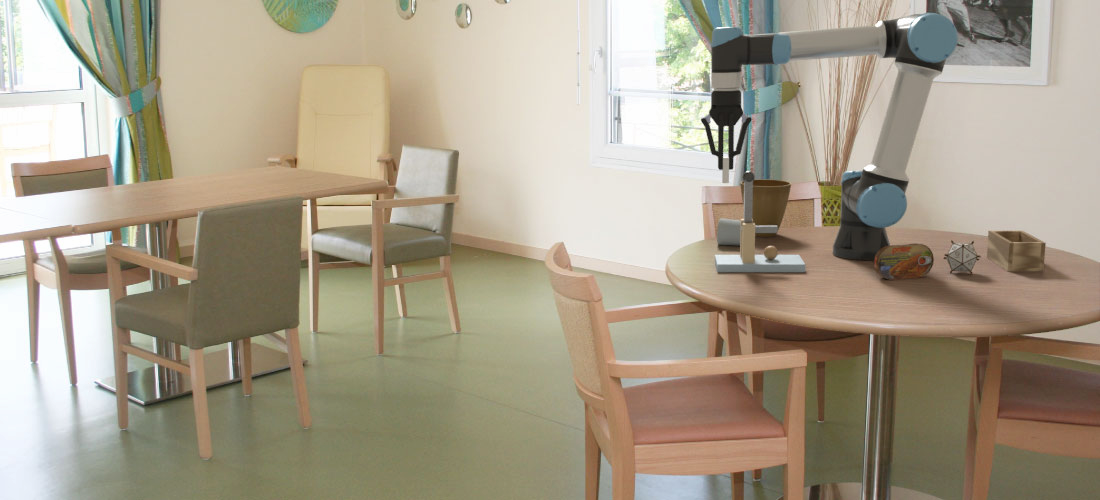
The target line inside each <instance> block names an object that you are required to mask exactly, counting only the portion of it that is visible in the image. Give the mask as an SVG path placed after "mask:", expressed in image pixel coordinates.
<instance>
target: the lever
mask: <svg viewBox="0 0 1100 500" xmlns="http://www.w3.org/2000/svg"><path fill="white" fill-rule="evenodd" d="M741 178H742V181H744V206H743V219H744V223H752V205H753V181H754V180H755V179H756V175H755V173H754V172H752V171H750V170H747V171H745V172H743V174H742V176H741ZM741 230H742V232H743V225H742V227H741ZM755 233H777V234H778V233H779V230H778V226H777V225H755Z"/></svg>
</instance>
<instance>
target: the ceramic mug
mask: <svg viewBox="0 0 1100 500" xmlns="http://www.w3.org/2000/svg"><path fill="white" fill-rule="evenodd" d="M740 229H741V219H740V220H739V219H729V218H722V217H721V218H719V220H718V223H717V229H716V244H717V245H718V246H735V247H736V246H737V247H739V246H740Z"/></svg>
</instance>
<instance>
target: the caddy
mask: <svg viewBox="0 0 1100 500" xmlns="http://www.w3.org/2000/svg"><path fill="white" fill-rule="evenodd" d="M987 234H988V235H987V249H986V258H987V259H988V260H990V261H992V262H993V263H995V264H996V265H997V266H999V267H1000V268H1001V269H1003V270H1005V271H1007V272H1044V271H1045V270H1044V269H1045V268H1044V267H1045V266H1044V265H1045V255H1046V244H1047V243H1046V242H1044V241H1043V240H1041V239H1039V238H1037V237H1035V236H1033V235H1032V234H1030V233H1028V232H1026V231H1025V230H988V233H987Z"/></svg>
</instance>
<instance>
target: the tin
mask: <svg viewBox="0 0 1100 500" xmlns="http://www.w3.org/2000/svg"><path fill="white" fill-rule="evenodd" d="M934 260H935V258H934V253H933V251H932V250H931V248H930V247H929V246H928V245H926V244H924V243H923V244H922V243H906V244H895V245H893V244H892V245H891V244H890V246H885V247H883V248H881V249H880V250H879V251H878V252H877V254H876V255H875V259H874V261H873V266H874V270H875V271H876V274H877V275H878V276H880V277H881V278H883V279H886V280H890V281H897V280H906V279H907V280H908V279H919V278H923V277H925V276H927V274H929V273H930V271H931V270H932V268H933V266H934V263H935V262H934Z"/></svg>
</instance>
